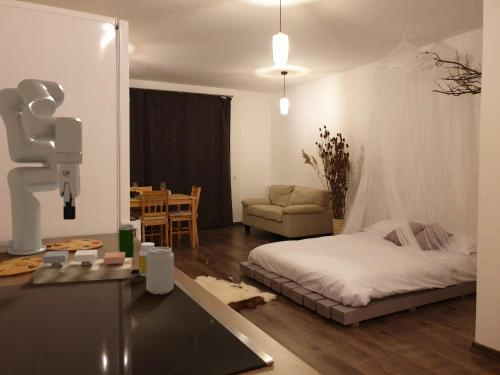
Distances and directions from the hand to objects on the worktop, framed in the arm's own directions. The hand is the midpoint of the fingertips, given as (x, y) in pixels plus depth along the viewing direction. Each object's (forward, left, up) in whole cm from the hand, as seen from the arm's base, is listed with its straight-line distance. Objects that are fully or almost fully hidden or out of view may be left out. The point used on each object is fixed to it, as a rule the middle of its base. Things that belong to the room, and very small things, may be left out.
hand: (69, 219), depth 121 cm
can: (+26, -19, -18) cm, 37 cm away
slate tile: (-4, 0, -14) cm, 15 cm away
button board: (+5, 0, -18) cm, 18 cm away
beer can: (+16, +16, -18) cm, 29 cm away
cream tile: (+5, 0, -14) cm, 15 cm away
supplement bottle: (+23, -3, -18) cm, 29 cm away
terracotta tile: (+13, 0, -15) cm, 20 cm away
